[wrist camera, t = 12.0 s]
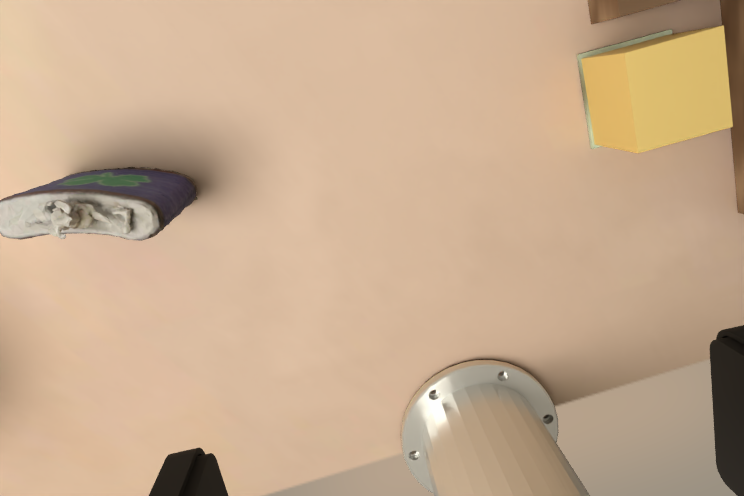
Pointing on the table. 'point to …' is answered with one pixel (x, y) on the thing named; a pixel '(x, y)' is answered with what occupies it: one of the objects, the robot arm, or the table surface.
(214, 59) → the table surface
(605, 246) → the table surface
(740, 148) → the brown l-shaped piece
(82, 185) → the purple clover tin
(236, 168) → the table surface
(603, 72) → the cube
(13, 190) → the table surface
